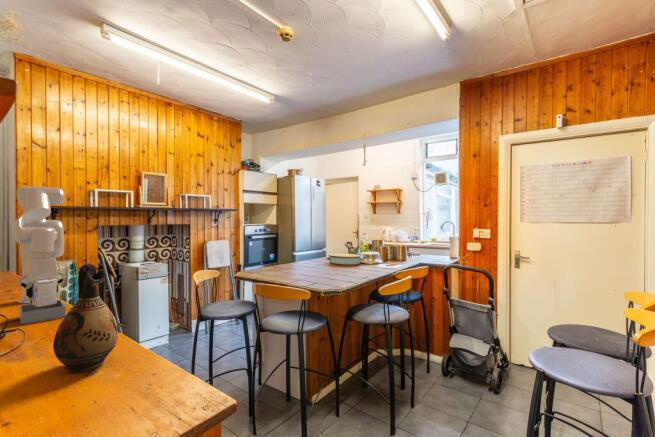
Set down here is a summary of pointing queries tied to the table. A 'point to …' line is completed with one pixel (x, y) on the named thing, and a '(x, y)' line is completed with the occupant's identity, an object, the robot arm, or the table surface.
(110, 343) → the ceramic jug
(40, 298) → the light bulb box
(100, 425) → the table surface
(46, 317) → the tray
